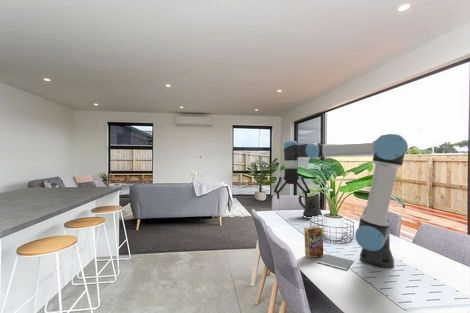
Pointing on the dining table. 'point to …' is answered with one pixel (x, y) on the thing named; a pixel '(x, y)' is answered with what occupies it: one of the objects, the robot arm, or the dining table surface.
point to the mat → (335, 261)
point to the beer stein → (311, 206)
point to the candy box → (313, 242)
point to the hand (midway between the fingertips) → (292, 204)
